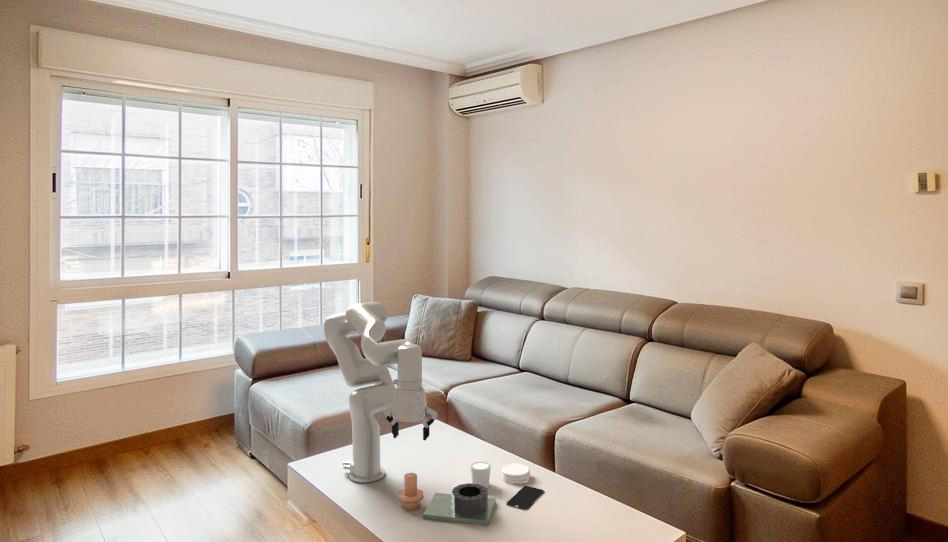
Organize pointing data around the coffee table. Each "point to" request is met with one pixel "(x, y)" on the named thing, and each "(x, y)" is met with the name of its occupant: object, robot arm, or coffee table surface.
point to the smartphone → (525, 498)
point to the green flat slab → (462, 505)
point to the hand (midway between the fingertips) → (410, 437)
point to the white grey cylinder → (480, 473)
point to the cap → (410, 493)
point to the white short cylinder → (515, 473)
